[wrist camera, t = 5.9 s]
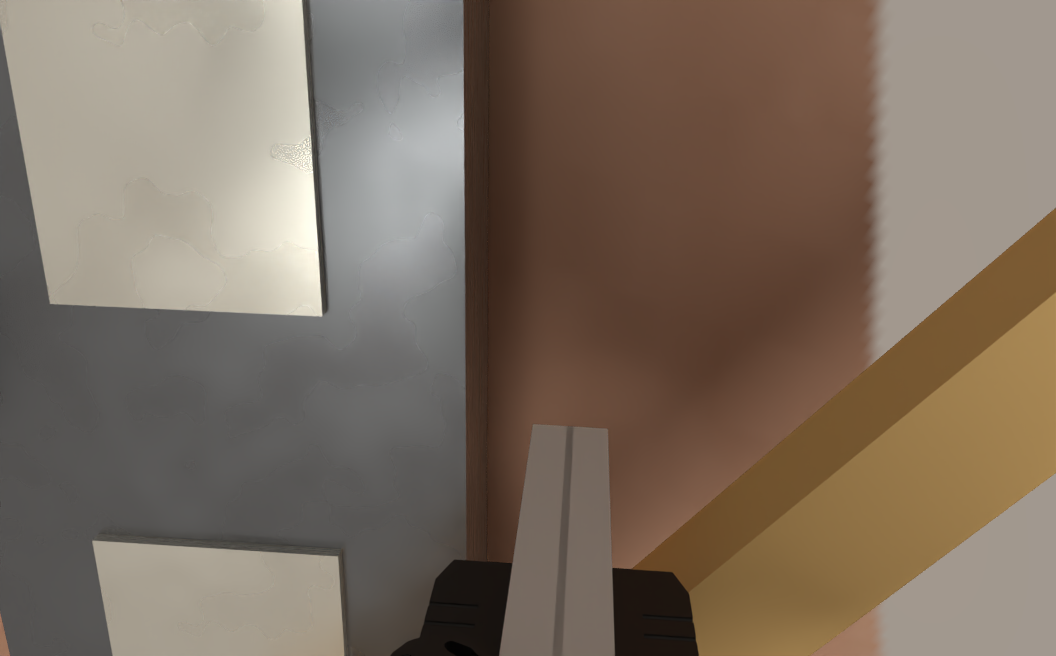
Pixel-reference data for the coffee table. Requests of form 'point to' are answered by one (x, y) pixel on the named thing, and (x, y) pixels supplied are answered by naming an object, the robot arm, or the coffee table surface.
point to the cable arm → (883, 470)
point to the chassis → (240, 322)
